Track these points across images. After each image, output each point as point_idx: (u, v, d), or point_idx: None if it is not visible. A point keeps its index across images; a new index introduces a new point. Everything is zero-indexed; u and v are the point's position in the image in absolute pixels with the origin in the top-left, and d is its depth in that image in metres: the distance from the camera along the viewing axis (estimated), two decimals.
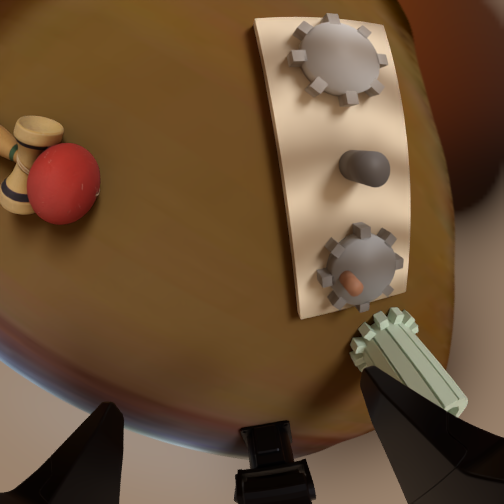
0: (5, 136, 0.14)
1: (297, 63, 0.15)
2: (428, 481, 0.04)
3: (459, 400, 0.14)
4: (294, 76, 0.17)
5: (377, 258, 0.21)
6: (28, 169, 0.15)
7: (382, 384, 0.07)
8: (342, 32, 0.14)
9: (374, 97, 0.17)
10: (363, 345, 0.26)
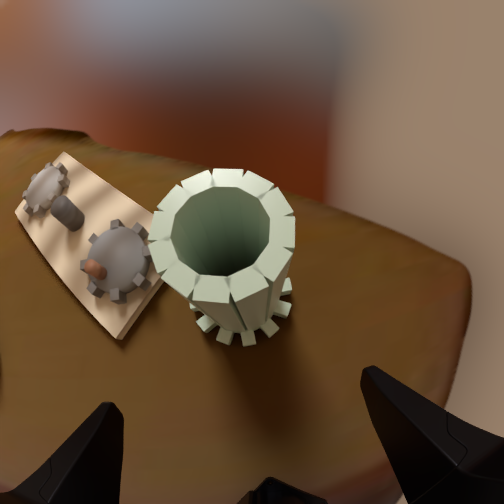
0: None
1: (29, 210, 0.25)
2: (428, 481, 0.04)
3: (187, 182, 0.12)
4: (34, 218, 0.26)
5: (114, 242, 0.23)
6: None
7: (382, 384, 0.07)
8: (38, 177, 0.26)
9: (71, 183, 0.27)
10: (203, 316, 0.21)
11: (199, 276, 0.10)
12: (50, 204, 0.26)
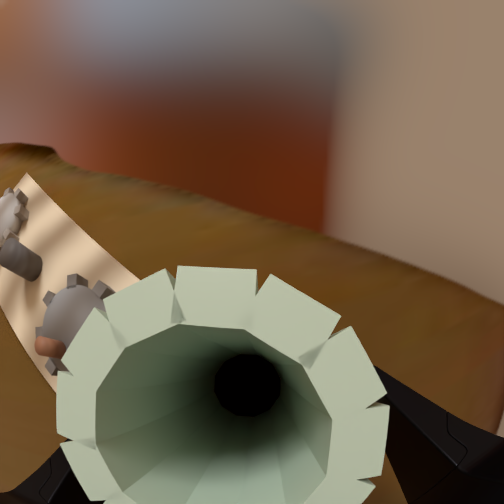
0: None
1: None
2: (428, 481, 0.04)
3: (117, 304, 0.04)
4: None
5: (71, 307, 0.15)
6: None
7: None
8: None
9: (30, 216, 0.20)
10: None
11: None
12: None
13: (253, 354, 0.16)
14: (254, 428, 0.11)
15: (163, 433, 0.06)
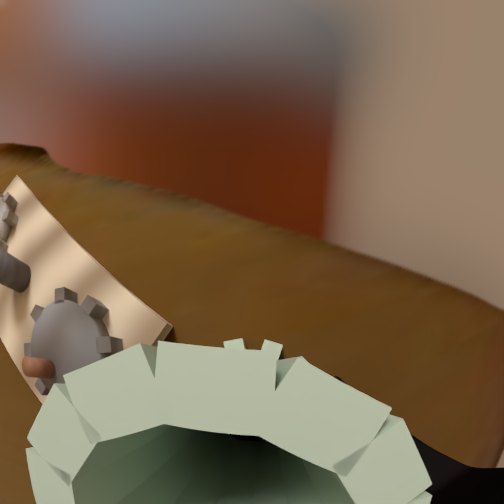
0: None
1: None
2: None
3: (81, 385, 0.03)
4: None
5: (59, 323, 0.13)
6: None
7: None
8: None
9: (19, 221, 0.18)
10: None
11: None
12: None
13: None
14: (258, 460, 0.10)
15: (159, 489, 0.05)
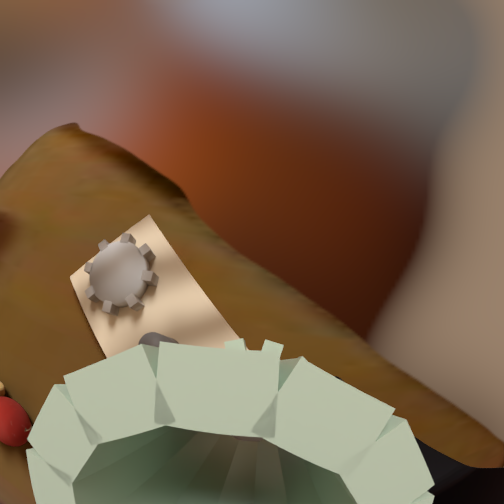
0: None
1: (93, 297, 0.22)
2: None
3: (81, 387, 0.03)
4: (101, 308, 0.23)
5: None
6: None
7: None
8: (110, 252, 0.23)
9: (160, 283, 0.24)
10: None
11: None
12: (127, 304, 0.23)
13: None
14: (259, 460, 0.10)
15: (160, 490, 0.04)
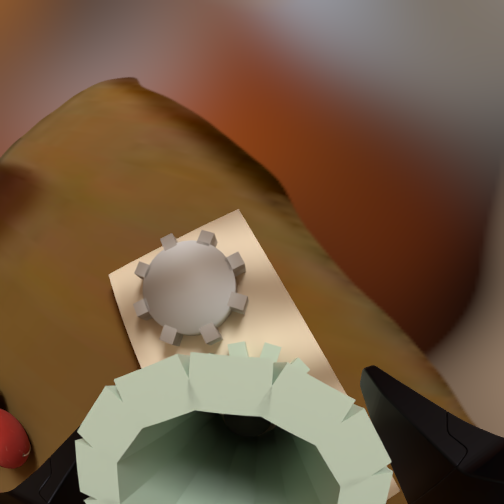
0: None
1: (145, 315, 0.17)
2: (428, 481, 0.04)
3: (129, 386, 0.04)
4: (153, 329, 0.17)
5: None
6: None
7: (382, 384, 0.07)
8: (179, 254, 0.17)
9: (250, 312, 0.17)
10: None
11: None
12: (198, 334, 0.17)
13: None
14: (259, 451, 0.11)
15: (176, 473, 0.06)
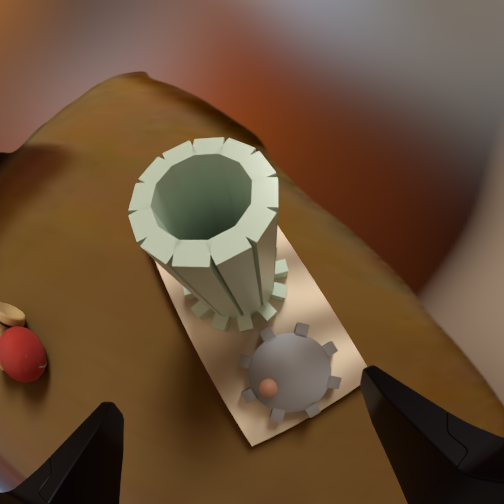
0: None
1: None
2: (428, 481, 0.04)
3: (168, 153, 0.11)
4: None
5: (296, 353, 0.19)
6: None
7: (382, 384, 0.07)
8: None
9: None
10: (198, 302, 0.21)
11: (179, 241, 0.10)
12: None
13: None
14: None
15: None
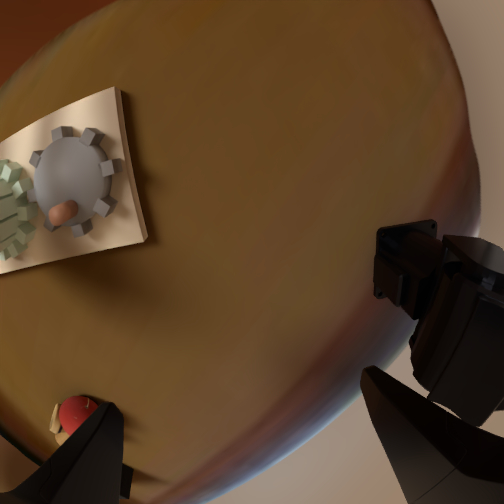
0: None
1: None
2: (428, 481, 0.04)
3: None
4: None
5: (50, 171, 0.14)
6: None
7: (382, 384, 0.07)
8: None
9: None
10: (9, 250, 0.16)
11: None
12: None
13: None
14: None
15: None
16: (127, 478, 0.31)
